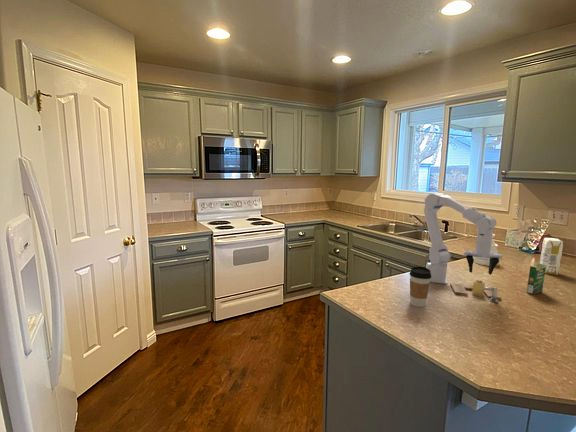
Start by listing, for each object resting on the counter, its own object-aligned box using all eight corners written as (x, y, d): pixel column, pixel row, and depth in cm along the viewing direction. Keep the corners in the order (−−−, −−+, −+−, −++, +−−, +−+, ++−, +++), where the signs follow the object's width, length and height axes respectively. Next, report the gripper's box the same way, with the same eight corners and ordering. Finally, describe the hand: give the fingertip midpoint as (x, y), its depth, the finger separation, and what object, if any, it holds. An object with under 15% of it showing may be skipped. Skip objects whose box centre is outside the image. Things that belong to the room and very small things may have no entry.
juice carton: (542, 273, 175) (547, 240, 173) (537, 269, 183) (542, 237, 180) (559, 275, 173) (565, 241, 170) (553, 271, 181) (558, 238, 178)
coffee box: (532, 295, 144) (536, 267, 142) (525, 292, 147) (529, 265, 145) (542, 292, 148) (546, 265, 146) (535, 290, 150) (539, 263, 148)
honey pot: (497, 262, 196) (501, 233, 193) (498, 267, 185) (502, 237, 183) (473, 258, 203) (477, 230, 200) (472, 263, 192) (476, 234, 189)
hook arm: (480, 300, 137) (482, 287, 136) (478, 297, 140) (480, 284, 139) (498, 302, 135) (500, 289, 134) (496, 300, 138) (497, 286, 137)
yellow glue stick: (473, 295, 142) (474, 281, 141) (471, 292, 146) (472, 278, 145) (484, 297, 141) (486, 283, 140) (482, 293, 145) (483, 279, 144)
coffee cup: (427, 301, 134) (431, 267, 132) (429, 309, 126) (433, 273, 124) (406, 298, 137) (409, 265, 135) (407, 306, 129) (410, 271, 127)
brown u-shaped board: (455, 294, 143) (455, 292, 143) (450, 285, 154) (450, 282, 154) (501, 300, 137) (501, 297, 137) (492, 290, 149) (492, 287, 149)
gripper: (467, 243, 139) (464, 273, 141) (505, 247, 135) (501, 277, 137) (463, 240, 146) (460, 268, 148) (500, 243, 141) (496, 272, 144)
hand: (480, 272), depth 143 cm, fingers open, 7 cm apart
